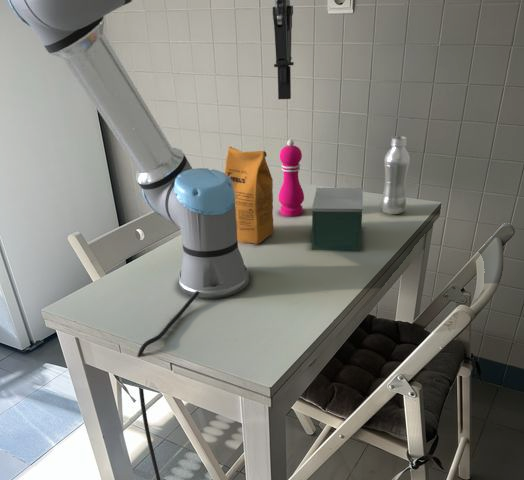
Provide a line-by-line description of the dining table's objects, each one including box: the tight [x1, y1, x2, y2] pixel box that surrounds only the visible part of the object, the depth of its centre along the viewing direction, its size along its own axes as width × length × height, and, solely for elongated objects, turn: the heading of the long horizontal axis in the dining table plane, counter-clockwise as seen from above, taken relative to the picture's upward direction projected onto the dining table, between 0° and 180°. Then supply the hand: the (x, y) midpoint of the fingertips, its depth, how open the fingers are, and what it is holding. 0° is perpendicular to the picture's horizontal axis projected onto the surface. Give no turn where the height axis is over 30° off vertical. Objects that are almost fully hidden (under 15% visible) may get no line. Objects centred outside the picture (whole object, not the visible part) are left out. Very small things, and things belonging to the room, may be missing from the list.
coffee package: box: [223, 146, 275, 245], centre depth 133 cm, size 10×12×22 cm
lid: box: [311, 187, 364, 213], centre depth 129 cm, size 15×12×1 cm
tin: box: [311, 210, 363, 251], centre depth 132 cm, size 15×12×10 cm
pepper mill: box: [278, 139, 305, 217], centre depth 146 cm, size 7×7×20 cm
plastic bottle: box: [380, 135, 411, 215], centre depth 143 cm, size 6×7×20 cm
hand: (284, 98), depth 121 cm, fingers closed
